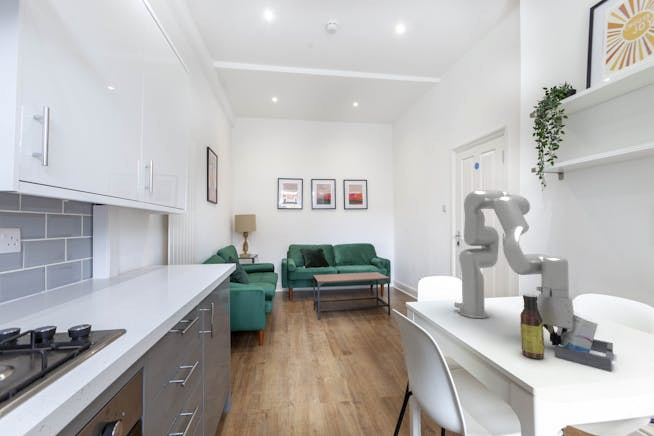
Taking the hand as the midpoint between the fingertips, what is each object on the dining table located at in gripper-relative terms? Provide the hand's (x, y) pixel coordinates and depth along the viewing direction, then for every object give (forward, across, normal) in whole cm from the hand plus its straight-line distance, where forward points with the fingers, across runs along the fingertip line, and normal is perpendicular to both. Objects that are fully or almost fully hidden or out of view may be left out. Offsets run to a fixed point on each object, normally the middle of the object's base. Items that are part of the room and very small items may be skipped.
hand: (555, 344), depth 102 cm
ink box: (+1, +4, +1) cm, 5 cm away
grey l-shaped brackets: (+1, +7, 0) cm, 7 cm away
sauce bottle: (+2, -4, -12) cm, 13 cm away
